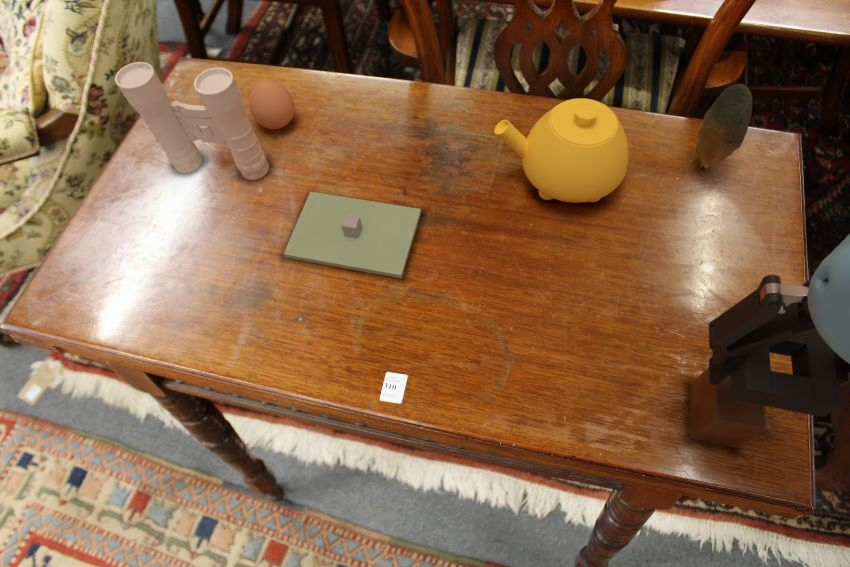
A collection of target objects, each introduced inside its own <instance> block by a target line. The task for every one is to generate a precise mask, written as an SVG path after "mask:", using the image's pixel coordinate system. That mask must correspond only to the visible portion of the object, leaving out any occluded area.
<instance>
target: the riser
mask: <svg viewBox="0 0 850 567" xmlns="http://www.w3.org/2000/svg"><path fill="white" fill-rule="evenodd" d="M689 387H690V388H689V389H690V390H689V391H690V392H689V394H690V396H689V397H690V402H689V407H690V408H689V412H690V413H689V420H690V421H689V439H690V440H695V441H699V442H706V443H710V444H714V445H718V446H723V447H728V448H736V447H738V446H740V445H741V444H743V443H745V442H747V441H748V440H751V439H752V438H754V437H756V436H758V435H759V434H761V433H762V432H765V431H766V430H767V424H766V423H767V422H766V406H763V405H758V404H753V403H748V402H743V401H738V400H733V399H732V394H731V374H730V375H729V376H728V377H726V378H725V379H724V380H723V381H722V382H720V383H719V384H718V385H713V384H709V366H708V367H707V368H706V369H704V371H703V372H702V373H700V375H698V377H697V378H696V379H694V380H693V381H692V382H691V383H690V386H689Z"/></svg>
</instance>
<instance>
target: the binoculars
mask: <svg viewBox="0 0 850 567" xmlns="http://www.w3.org/2000/svg"><path fill="white" fill-rule="evenodd" d="M114 82H115V84H116V86H117V87H118V88H119V90H120V91H121V93H122V94H123V96H124V98H125V99H126V100H127V102H128V103H129V104H130V106H131V107H132V108H133V109H134V110H135V112H137V113H138V115H140V117H141V118H142V119H143V121H144V123H145V124H146V125H147V127H148V130H149V132H150V133H152V134H153V136H154V137H155V140H156V142H157V143H158V144H159V146H160V147H161V149H162V150H163V152H164V154H165V155H166V158H167V160H168V162H169V163H170V164H171V165H172V166H173V167H174V169H175V170H176V171H177V172H178V173H180V174H189V173H190V174H191V173H193V172H195V171H197V170H198V169H199V168H200V167H201V165H202V164H203V157H202V155H201V153H200V150H199V148H198V146H197V144H195V142H197V141H198V140H200V141H202V142H204V143H209V144H224V143H225V144H226V146H227V147H228V150H229V151H230V152H231V153H230V154H231V156H232V158H233V160H234V164H235V167H236V168H237V170H238V171H239V172H240V174H241V175H242V177H243V178H244V179H246V180H250V181H253V180H255V181H256V180H259V179H261V178H263V177H265V176H266V175H267V173H268V171H269V169H270V166H269V163H268V160H267V155H266V153H265V151H264V150H263V149H262V146H261V144H260V143H259V140H258V137H257V134H256V133H255V131H254V130H253V126H252V123H251V122H250V120H249V117H248V116H247V113H246V110H245V105H244V102H243V98H242V94H241V92H240V89H239V86H238V84H237V82H236V80H235V78H234V74H233V73H232V71H231V70H229V69H228V68H225V67H220V66H219V67H211V68H208V69H204V70H203V71H201V72H200V73H199V74H198V75H196V77H195V78H194V81H193V88H194V90H195V91H196V93H197V95H198V97H199V99H200V101H201V103H202V105H198V104H197V105H196V104H188V103H184V102H179V100H174V101H172V102H171V101H170V99H169V97H168V94H167V91H166V89H165V86H164V85H163V83H162V81H161V79H160V78H159V76H158V74H157V72H156V71H155V68H154V66H153V65H152V64H150V63H148V62H144V61H136V62H135V61H134V62H131V63H128V64H126V65H124V66H122V67H121V68H119V70H118V71H117V73H116V74H115V76H114Z"/></svg>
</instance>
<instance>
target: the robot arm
mask: <svg viewBox="0 0 850 567" xmlns="http://www.w3.org/2000/svg"><path fill="white" fill-rule="evenodd" d="M818 335H821V337H822V338H823V339H824V341H825V342H826V343H827V344H828V345H829V347H830V348H831V349H832V350H833V351H834V357H835V364H836V371H837V379H838V386H839V388H841V387H845V386H847V385H849V384H850V232H849V233H848V234H847V235H846V237H845V238H844V239H843V240H842V241H841V242H840V243H839V244H838V245H837V246H836V247H835V248H834V249H833V250H832V251H831V252H830V253H829V254H828V255H827V256H826V257H825V258H824V259H823V260H822V261H821V262H820V264H819V266H818V267H817V268H816V269H815V271H814V273H813V274H812V276H811V279H808V280H806V281H805V282H803V283H802V285H795V284H783V283H782V280H781V277H780V276H779V275H777V274H768V275H764V277H763V278H762V279H761V281H760V283H759V285H758V286H757V288H756V289H754V291H752V292H751V293H749V294H748V295H746V296H745V297H743V298H742V299H741V300H740V301H738V302H737V303H735V304H734V305H732V306H731V307H730V308H728V309H727V310H725V311H724V312H723V313H721V314H720V315H718V316H717V317H715V318H714V319H712V320H711V321H710V322H709V323H708V348H709V349H710V350H711V351H712V356H711V357H710V358H709V359H708V367H709V384H713V385H718V384H719V383H720V382H722V381H723V380H724V379H725V378H726V377H728V376H729V375H730V374H731V373H732V372H733V371H734V370H735V369H737V368H738V367H739V366H740V365H741V364H743V363H744V362H745V361H746V354H747V353H750V352H753V351H756V350H759V349H762V348H765V347H768V346H771V345H774V344H777V343H780V342H783V341H786V340H789V339H792V338H795V337H798V336H800V337H802V338H805V339H809V338H812V337H815V336H818Z"/></svg>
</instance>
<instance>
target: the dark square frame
mask: <svg viewBox="0 0 850 567" xmlns="http://www.w3.org/2000/svg"><path fill="white" fill-rule="evenodd" d="M771 354H776V355H780V356H781V355H782V356H786V357H790V361H791V371H792V374H791V373H786V372H780V371H775V370H772V368H771V366H772V365H771ZM731 394H732V399H733V400H738V401H743V402H748V403H753V404H758V405H763V406H765V407H769V408H772V409H773V408H774V409H779V410H784V411H789V412H794V413H798V414H799V413H800V414H804V415H810V416H814V417H820V418H823V417H826V416H828V415H830V414H831V413H833V412H835V411H837V410H840V409H841V408H842V402H841V401H842V400H841V395H840V394H841V393H840V387H839V386H838V379H837V371H836V364H835V357H834V351H833V350H832V349H831V348H830V347H829V345H828V344H827V343H826V342H825V341H824V339H823V338H822V337H821V335H818V336H815V337H812V338H809V339H805V338H802V337H800V336H798V337H795V338H792V339H789V340H786V341H783V342H780V343H777V344H774V345H771V346H768V347H765V348H762V349H759V350H756V351H753V352H750V353H747V354H746V361H745V362H744V363H743V364H741V365H740V366H739V367H738V368H737V369H735V370H734V371H733V372H732V373H731Z"/></svg>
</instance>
